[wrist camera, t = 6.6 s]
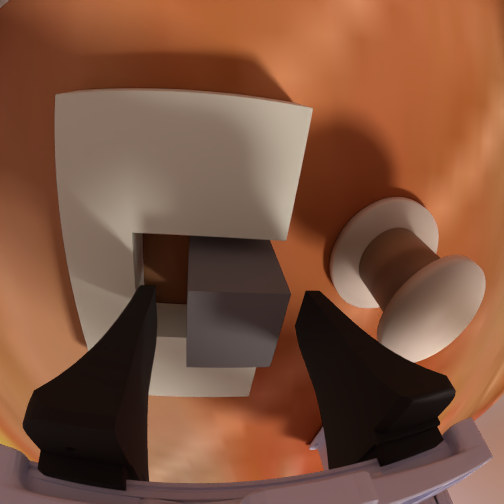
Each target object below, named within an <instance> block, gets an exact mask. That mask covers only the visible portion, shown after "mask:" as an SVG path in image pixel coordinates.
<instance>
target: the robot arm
mask: <svg viewBox="0 0 504 504" xmlns="http://www.w3.org/2000/svg"><path fill="white" fill-rule="evenodd" d="M157 324H158V323H157V306H156V286H147V285H140V286H139V287H138V288H137V290H136V292H135V293H134V295H133V297H132V298H131V300H130V301H129V303H128V304H127V306H126V307H125V309H124V310H123V311H122V313H121V314H120V316H119V317H118V318H117V320H116V321H115V322H114V323H113V325H112V326H111V327H110V328H109V330H108V331H107V332H106V333H105V334H104V336H103V337H102V338H101V339H100V340H99V341H98V342H97V343H96V344H95V345H94V346H93V347H92V348H91V349H90V350H89V351H88V352H87V353H86V354H85V355H84V356H83V357H82V358H81V359H79V360H78V361H77V362H76V363H75V364H73V365H72V366H71V367H69V368H68V369H67V370H65V371H64V372H63V373H62V374H60V375H59V376H57V377H56V378H54V379H53V380H51V381H49V382H48V383H46V384H44V385H43V386H41V387H39V388H38V389H36V390H34V392H33V394H32V396H31V398H30V401H29V403H28V406H27V410H26V413H25V417H24V420H23V429H24V430H25V432H26V433H27V435H28V436H29V437H30V439H31V440H32V441H33V442H34V443H35V444H36V445H37V446H38V448H39V449H40V450H41V452H40V457H39V463H37V462H34V461H30V460H29V459H28V458H27V457H26V456H25V455H24V454H23V453H22V452H20V451H18V450H16V449H14V448H11V447H8V446H5V445H2V444H0V504H453V503H452V500H451V498H450V496H449V493H448V491H447V488H449V487H451V486H453V485H455V484H457V483H458V482H460V481H461V480H463V479H464V478H466V477H467V476H469V475H470V474H472V473H473V472H474V471H476V470H477V469H479V468H480V467H481V466H483V465H484V464H485V463H486V462H488V461H489V460H491V459H492V457H493V456H492V454H491V452H490V450H489V448H488V446H487V444H486V443H485V441H484V439H483V437H482V435H481V433H480V431H479V430H478V428H477V426H476V425H475V423H474V421H473V419H472V417H469V418H467V419H465V420H463V421H460V422H458V423H456V424H454V425H453V426H451V427H450V428H449V429H448V430H447V431H446V432H445V433H444V434H443V435H441V433H440V431H439V429H438V427H437V426H439V425H440V421H439V419H438V416H439V415H440V414H441V413H442V412H443V411H444V409H445V408H446V407H447V406H448V405H449V404H450V403H451V401H452V400H453V398H454V396H455V392H456V391H455V389H454V387H453V386H452V384H451V382H450V381H449V379H448V378H447V376H446V375H443V374H440V373H437V372H435V371H432V370H429V369H426V368H424V367H422V366H420V365H417V364H415V363H413V362H411V361H409V360H407V359H405V358H403V357H402V356H400V355H398V354H396V353H395V352H393V351H391V350H390V349H388V348H387V347H385V346H384V345H382V344H381V343H379V342H378V341H376V340H375V339H374V338H372V337H371V336H370V335H368V334H367V333H366V332H365V331H363V330H362V329H361V328H360V327H359V326H357V325H356V324H355V323H354V322H353V321H352V320H351V319H349V318H348V317H347V316H346V315H345V314H344V313H343V312H342V311H341V310H340V309H339V308H337V307H336V306H335V305H334V304H333V303H332V302H331V301H330V300H329V299H328V298H327V297H326V296H325V295H323V294H322V293H321V292H320V291H306V292H305V295H304V298H303V302H302V305H301V308H300V312H299V315H298V318H297V321H296V324H295V329H296V334H297V339H298V343H299V347H300V350H301V353H302V356H303V359H304V361H305V364H306V367H307V370H308V372H309V375H310V378H311V381H312V383H313V386H314V389H315V393H316V396H317V400H318V405H319V409H320V414H321V419H322V424H323V427H322V428H321V430H320V431H319V433H318V434H317V436H316V437H315V438H314V440H313V441H312V443H311V444H310V446H309V449H310V450H314V449H318V451H319V455H320V458H321V461H322V465H323V468H324V471H321V472H315V473H310V474H304V475H298V476H291V477H284V478H277V479H268V480H258V481H247V482H232V483H161V482H149V473H148V448H147V414H148V394H149V386H150V380H151V373H152V367H153V361H154V355H155V349H156V340H157Z"/></svg>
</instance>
